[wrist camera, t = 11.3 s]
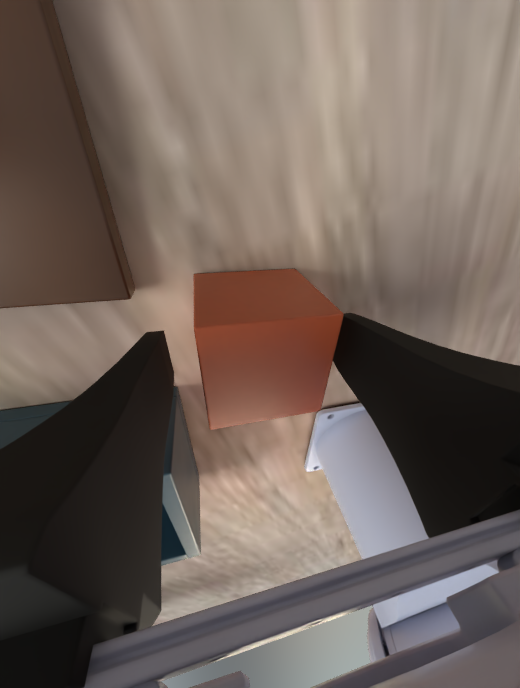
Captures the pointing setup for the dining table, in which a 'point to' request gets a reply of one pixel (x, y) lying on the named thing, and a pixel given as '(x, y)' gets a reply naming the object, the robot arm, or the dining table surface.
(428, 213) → the dining table surface
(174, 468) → the toy box
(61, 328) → the dining table surface
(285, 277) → the block
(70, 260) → the box lid with knob
